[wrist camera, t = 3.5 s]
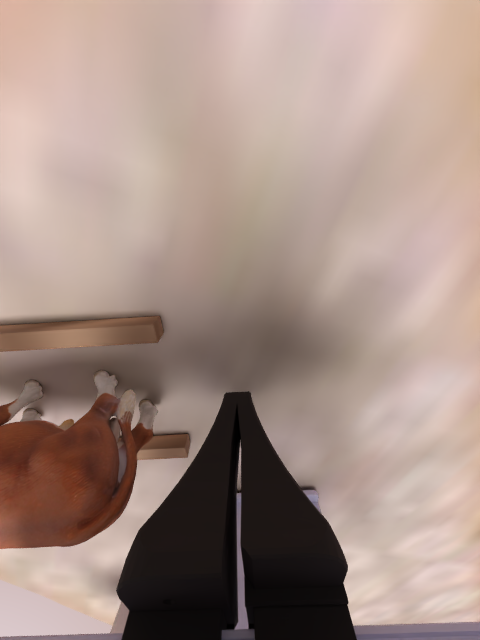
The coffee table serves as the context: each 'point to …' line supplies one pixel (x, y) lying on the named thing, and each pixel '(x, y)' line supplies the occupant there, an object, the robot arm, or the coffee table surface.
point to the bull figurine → (68, 467)
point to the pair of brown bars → (98, 335)
